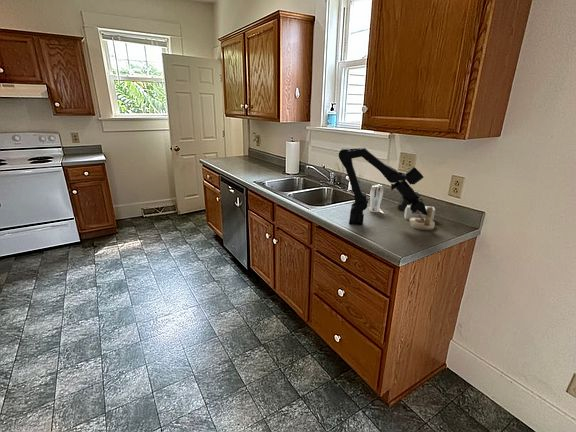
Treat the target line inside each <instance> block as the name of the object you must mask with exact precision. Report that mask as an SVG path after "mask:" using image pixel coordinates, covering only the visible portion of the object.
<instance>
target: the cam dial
mask: <svg viewBox="0 0 576 432" xmlns="http://www.w3.org/2000/svg"><path fill="white" fill-rule="evenodd" d="M432 207H433V206H430V207H427V215H426V217H425V218H423V217H412V218H410V220H408V221H409V222H408V226H410V228H414V229H416V230H420V231H432V230H434V229H435V226H436V225H435V224H436V222H435V221H434V220H433V221H432V220H431V215H432V210H433V208H432Z"/></svg>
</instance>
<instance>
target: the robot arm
mask: <svg viewBox="0 0 576 432" xmlns="http://www.w3.org/2000/svg"><path fill="white" fill-rule="evenodd" d="M356 158H363V159H364V160H365V161H367V162H368V163H369V164H370V165H372V167H374V168H376V169H377V170H378V171H379V172H380V173H381V174H382V176H384V178H385V179H386V180H387V181H388V183H390V190H391V191H394V189H395V190H396V191H397V192H398V193H399V194H400V195H401V197H402V198H401V200H400V201H399V203H398V204H397V205H396V210H398V211H399V212H402V213H405V208H406V207H407V205H410V209H411V211H412V212H413V213H414V212H416V211H417V210H418V211H420V212H421V213H423V214H424V215H427V212H426V208H425V206H426V205H425V202H424V200H423V198H420V197H421V195H420V193H419V192H417V191H415V190H414V188H413V187H411V186H412V185H416V184H417V183H418V182H420V181H421V180H423V179H424V178H425V177H424V176H423V174H422V173H421V172H420V170H418V169H417V168H416V167H415V166H413V167H412V168H411V169H410V170H408V171H407V172H406V173H405V172H401V171H400V172H399V171H398V170H397V169H396V168H393V167H392V166H389V165H387V164H386V163H384V162H383V161H381V160H380V159H379V158H378V157H376V156H375V155H374V154H372V153H371V152H370V151H368V149H367V147H358V148H357V147H356V148H348V147H342V148H341V149H340V151H339V153H338V159H339V161H340V162H341V164H342V165H343V167H344V168H345V171H346V174H347V177H348V180H349V184H350V185H351V189H352V191H353V196H354V202H353V203H352V204H351V207H350V208H351V209H350V213H349V220H348V224H349V225H358V226H363V223H364V218H365V216H364V215H365V214H364V211H365V210H366V209H367V208H368V204H369V198H368V197H367V192H363V191H362V189H361V186H360V182H359V180H358V176H357V174H356V170H355V167H354V164H353V159H356Z"/></svg>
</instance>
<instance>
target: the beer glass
mask: <svg viewBox="0 0 576 432" xmlns="http://www.w3.org/2000/svg"><path fill="white" fill-rule="evenodd" d="M384 188H385V187H384V185H382V184H376V183H375V184H371V187H370V190H369V191H370V193H369V203H370V204H369V208H368V211H369V212H371V213H375V214H376V213H377V214H378V213H380V211H381V209H380V208H381V207H380V205H381V203H382V199H383V196H384Z"/></svg>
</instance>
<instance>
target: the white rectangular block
mask: <svg viewBox="0 0 576 432" xmlns="http://www.w3.org/2000/svg"><path fill="white" fill-rule="evenodd" d="M427 207H432V208H433V210H432V215H431V220H432V221H434V220H435V218H434V217H435V214H436V209H435V207H434V206H429V205H428V206H427V205H425V208H426V212H427ZM412 217H423V218H425V217H426V215H424V214H423V213H421V212H420V211H418V210H417V211H416V212H414V213H413V212H412V211H411V209H410V205H407V207H406V208H405V210H404V215H403V218H404V219H405V220H408V221H410V218H412Z"/></svg>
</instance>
